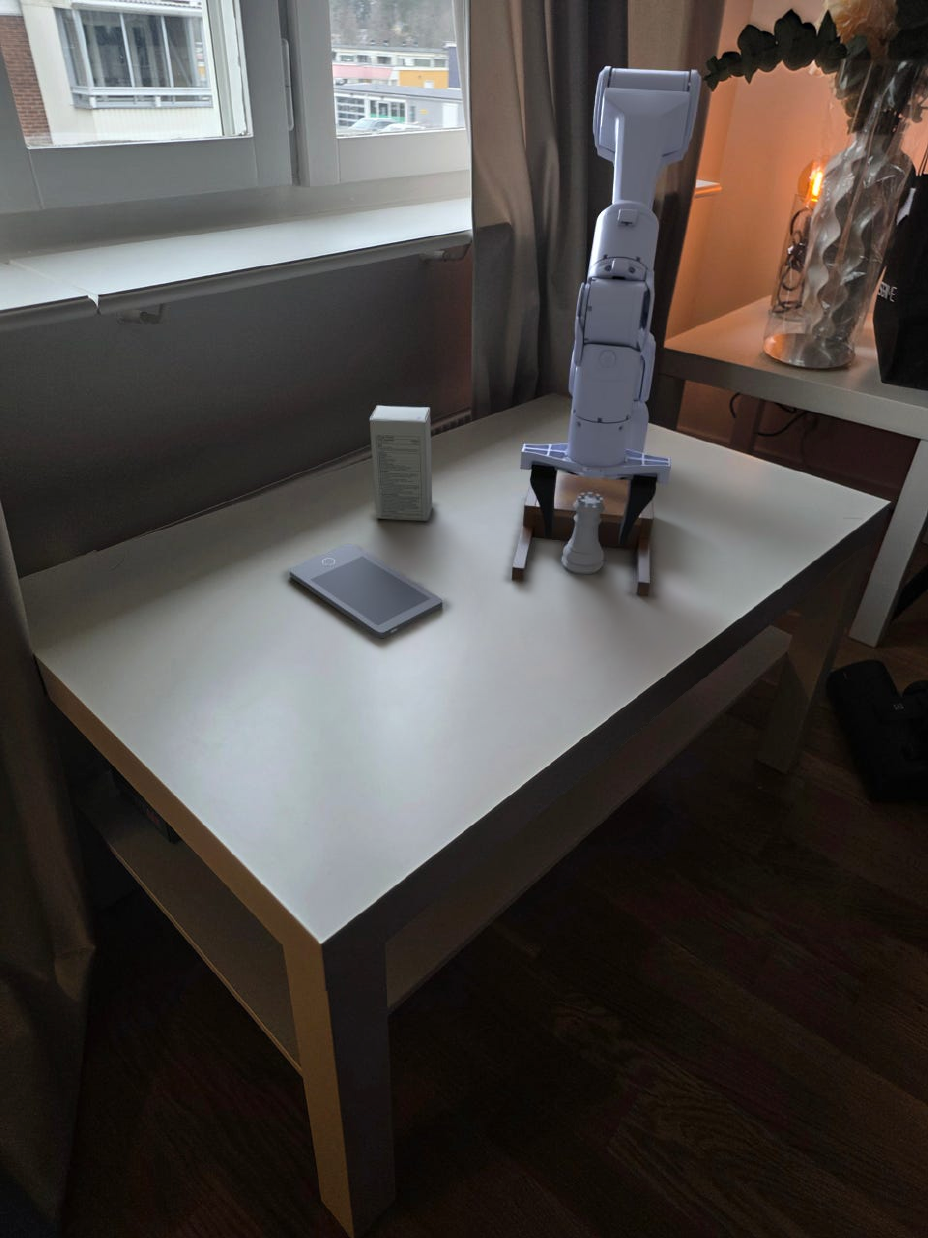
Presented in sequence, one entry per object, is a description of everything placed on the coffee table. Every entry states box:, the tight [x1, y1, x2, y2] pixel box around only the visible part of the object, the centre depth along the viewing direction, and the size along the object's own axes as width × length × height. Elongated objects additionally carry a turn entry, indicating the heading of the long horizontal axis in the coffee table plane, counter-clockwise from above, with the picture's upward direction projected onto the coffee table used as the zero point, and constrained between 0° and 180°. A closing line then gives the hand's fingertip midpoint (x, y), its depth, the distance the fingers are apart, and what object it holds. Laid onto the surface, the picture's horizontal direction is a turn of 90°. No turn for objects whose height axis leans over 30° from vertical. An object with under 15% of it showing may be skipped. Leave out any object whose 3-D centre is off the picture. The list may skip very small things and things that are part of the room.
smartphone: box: [289, 543, 443, 639], centre depth 84 cm, size 15×8×1 cm, turn 44°
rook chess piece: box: [561, 492, 605, 575], centre depth 87 cm, size 4×4×8 cm
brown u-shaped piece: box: [511, 472, 654, 596], centre depth 92 cm, size 18×14×4 cm
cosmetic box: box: [369, 405, 433, 522], centre depth 95 cm, size 6×4×12 cm
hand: (585, 536), depth 88 cm, fingers open, 7 cm apart
